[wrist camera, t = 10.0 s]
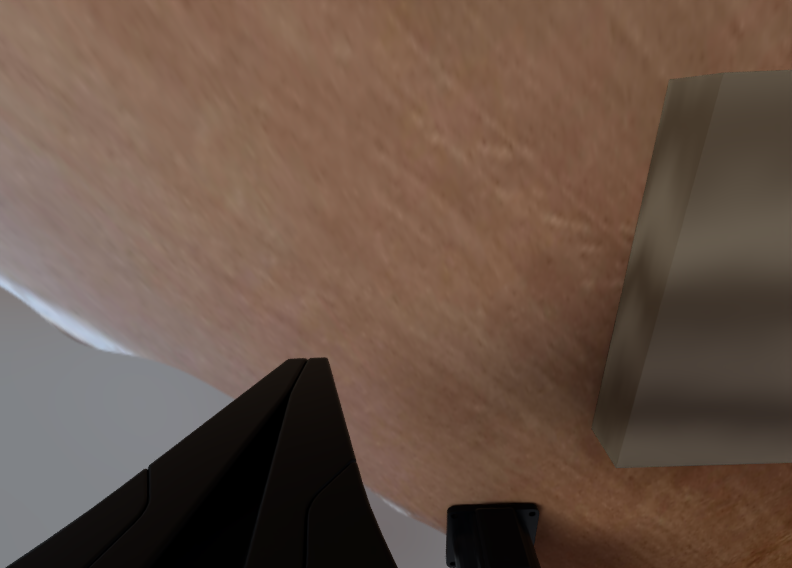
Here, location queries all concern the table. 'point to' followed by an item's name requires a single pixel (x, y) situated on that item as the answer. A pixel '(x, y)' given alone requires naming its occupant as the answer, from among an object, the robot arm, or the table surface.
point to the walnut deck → (708, 285)
